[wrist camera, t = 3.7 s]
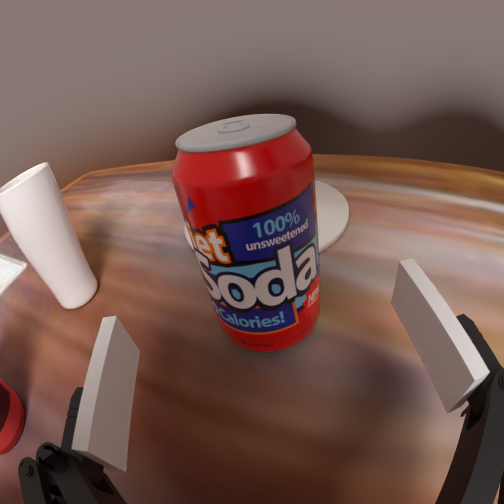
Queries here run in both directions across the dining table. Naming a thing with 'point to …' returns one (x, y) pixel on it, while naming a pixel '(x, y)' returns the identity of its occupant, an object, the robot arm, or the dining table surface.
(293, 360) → the dining table surface
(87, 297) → the drinking glass
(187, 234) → the cream plate
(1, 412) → the canned food
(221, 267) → the soda can
